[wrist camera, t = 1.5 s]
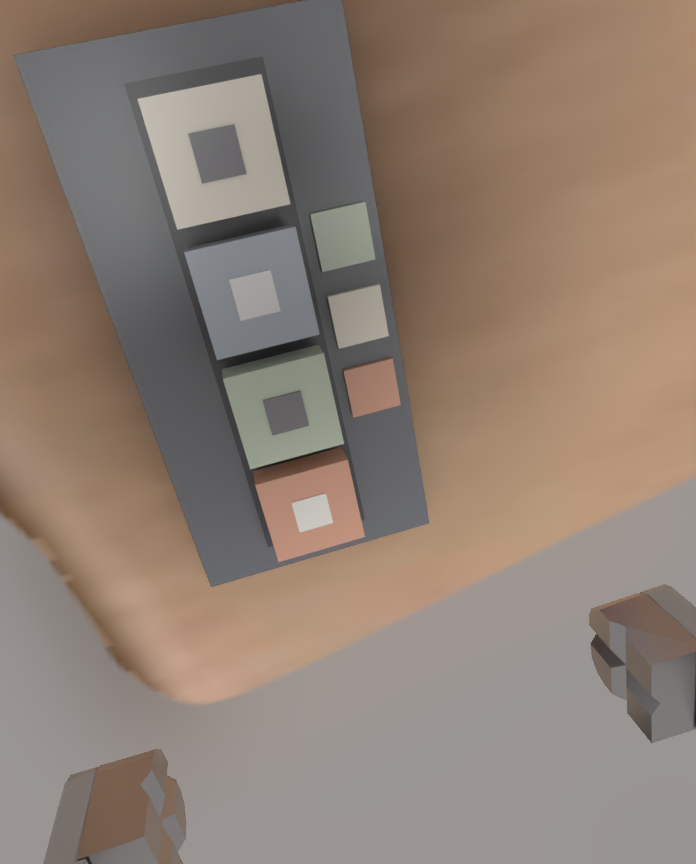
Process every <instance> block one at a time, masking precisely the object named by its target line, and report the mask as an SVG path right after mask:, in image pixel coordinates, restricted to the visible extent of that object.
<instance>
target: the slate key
mask: <svg viewBox="0 0 696 864" xmlns="http://www.w3.org/2000/svg"><path fill="white" fill-rule="evenodd" d="M184 254H185V257H186V260H187V263H188V267H189V270H190V273H191V277H192V280H193V283H194V286H195V290H196V293H197V296H198V299H199V303H200V306H201V309H202V313H203V316H204V319H205V322H206V326H207V329H208V332H209V336H210V339H211V342H212V345H213V349H214V352H215V355H216V359H217V360H220V359H224V358H228V357H232V356H236V355H240V354H244V353H248V352H252V351H256V350H260V349H264V348H268V347H272V346H276V345H280V344H284V343H288V342H292V341H296V340H299V339H303V338H307V337H311V336H315V335H319V334H320V333H319V329H318V325H317V320H316V316H315V311H314V307H313V302H312V298H311V293H310V289H309V284H308V280H307V275H306V271H305V266H304V262H303V258H302V253H301V249H300V244H299V240H298V235H297V231H296V227H295V226H293V225H292V224H290V225H286V226H281V227H277V228H273V229H268V230H264V231H260V232H255V233H251V234H247V235H242V236H238V237H233V238H229V239H225V240H220V241H216V242H212V243H207V244H203V245H199V246H194V247H190V248H186V249H185V251H184Z"/></svg>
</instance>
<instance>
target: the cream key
mask: <svg viewBox="0 0 696 864" xmlns="http://www.w3.org/2000/svg"><path fill="white" fill-rule="evenodd" d="M138 103H139V106H140V109H141V112H142V116H143V119H144V122H145V126H146V129H147V132H148V135H149V139H150V142H151V145H152V149H153V152H154V155H155V158H156V162H157V165H158V168H159V172H160V175H161V178H162V181H163V185H164V188H165V191H166V195H167V198H168V201H169V204H170V208H171V211H172V214H173V217H174V221H175V224H176V227H177V230H179V229H183V228H187V227H192V226H196V225H201V224H205V223H210V222H214V221H218V220H223V219H227V218H232V217H236V216H241V215H245V214H249V213H254V212H258V211H263V210H267V209H271V208H276V207H280V206H285V205H289V204H290V199H289V195H288V191H287V186H286V182H285V177H284V173H283V168H282V164H281V159H280V155H279V150H278V146H277V141H276V137H275V133H274V128H273V124H272V119H271V115H270V110H269V106H268V101H267V97H266V92H265V88H264V83H263V79H262V74H259V75H254V76H249V77H244V78H239V79H234V80H229V81H224V82H219V83H214V84H209V85H204V86H199V87H194V88H189V89H184V90H179V91H174V92H169V93H164V94H159V95H154V96H149V97H144V98H139V99H138Z"/></svg>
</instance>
